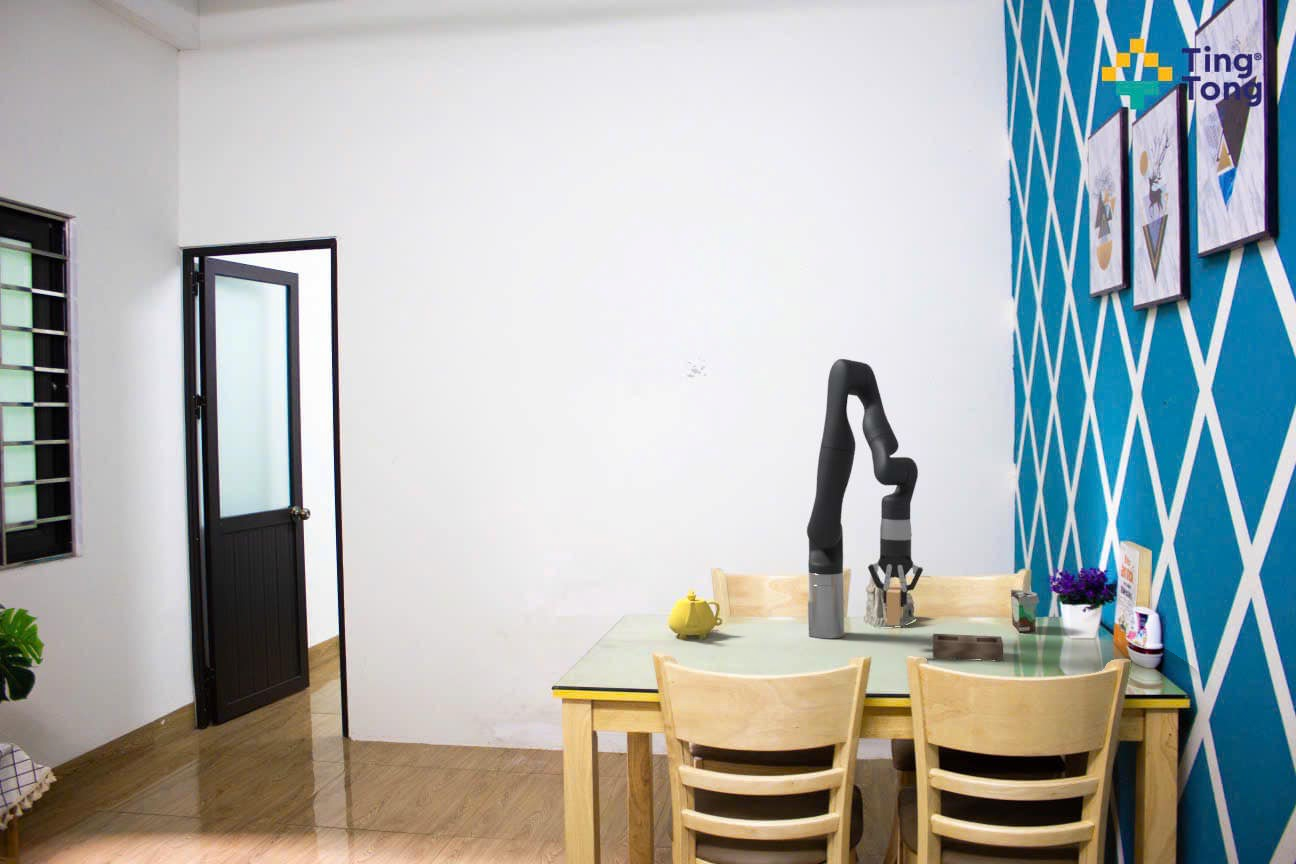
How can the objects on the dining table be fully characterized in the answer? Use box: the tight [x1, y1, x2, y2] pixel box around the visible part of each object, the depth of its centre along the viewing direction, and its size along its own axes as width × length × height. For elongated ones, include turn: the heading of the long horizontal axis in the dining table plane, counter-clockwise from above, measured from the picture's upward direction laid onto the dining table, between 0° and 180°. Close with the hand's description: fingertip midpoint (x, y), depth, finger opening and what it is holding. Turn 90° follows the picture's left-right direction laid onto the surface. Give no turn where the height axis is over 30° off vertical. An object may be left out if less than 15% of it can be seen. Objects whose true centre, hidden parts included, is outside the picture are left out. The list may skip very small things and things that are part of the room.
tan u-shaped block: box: [886, 583, 903, 626], centre depth 230 cm, size 12×3×8 cm, turn 160°
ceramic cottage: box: [863, 575, 917, 628], centre depth 267 cm, size 16×16×15 cm
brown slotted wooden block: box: [932, 633, 1004, 662], centre depth 226 cm, size 16×9×4 cm, turn 72°
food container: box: [1010, 589, 1040, 634], centre depth 252 cm, size 12×6×10 cm, turn 168°
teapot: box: [668, 588, 723, 640], centre depth 255 cm, size 20×15×12 cm
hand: (895, 605), depth 230 cm, fingers closed on tan u-shaped block, 3 cm apart
